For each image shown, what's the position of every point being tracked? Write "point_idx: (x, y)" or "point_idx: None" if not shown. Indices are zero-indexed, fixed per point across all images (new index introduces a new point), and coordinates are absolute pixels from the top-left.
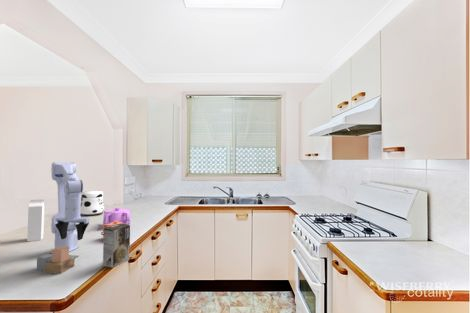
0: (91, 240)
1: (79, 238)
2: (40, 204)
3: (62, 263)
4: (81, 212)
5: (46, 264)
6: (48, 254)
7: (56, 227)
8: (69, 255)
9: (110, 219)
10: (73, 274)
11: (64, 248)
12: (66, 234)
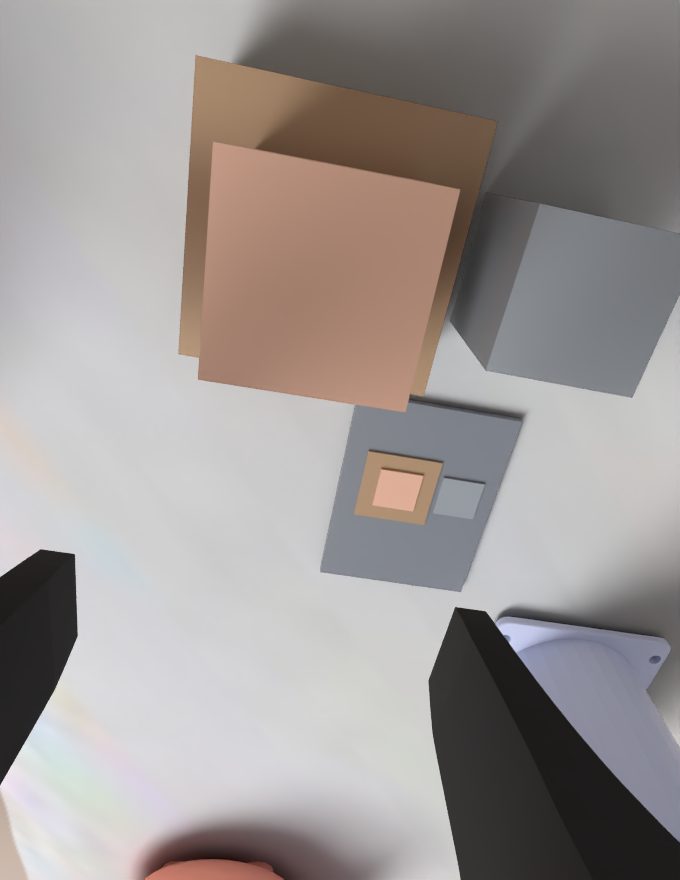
0: (411, 864)
1: (9, 579)
2: None
3: (209, 112)
4: None
5: (468, 115)
6: (578, 374)
7: None
8: (423, 578)
9: None
10: (27, 35)
11: (223, 272)
12: (442, 751)
